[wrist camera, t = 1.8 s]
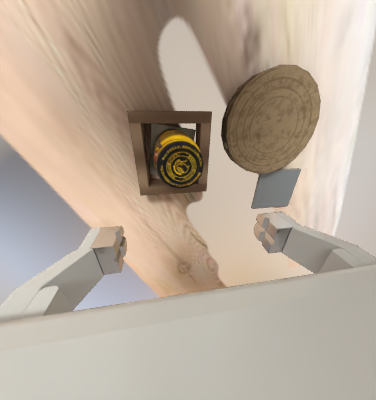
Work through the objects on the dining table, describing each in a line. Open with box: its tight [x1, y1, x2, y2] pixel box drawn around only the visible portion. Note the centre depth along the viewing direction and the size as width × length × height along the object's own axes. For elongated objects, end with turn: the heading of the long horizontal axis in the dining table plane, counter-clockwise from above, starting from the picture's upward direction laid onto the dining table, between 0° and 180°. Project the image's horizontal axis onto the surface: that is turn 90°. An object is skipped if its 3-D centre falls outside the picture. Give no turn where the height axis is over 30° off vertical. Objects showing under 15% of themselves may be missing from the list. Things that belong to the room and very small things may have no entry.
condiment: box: [150, 123, 204, 188], centre depth 22 cm, size 7×8×12 cm
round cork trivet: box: [221, 65, 321, 173], centre depth 27 cm, size 16×16×3 cm
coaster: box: [251, 168, 301, 209], centre depth 34 cm, size 9×9×1 cm
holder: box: [127, 111, 212, 195], centre depth 26 cm, size 13×12×4 cm
